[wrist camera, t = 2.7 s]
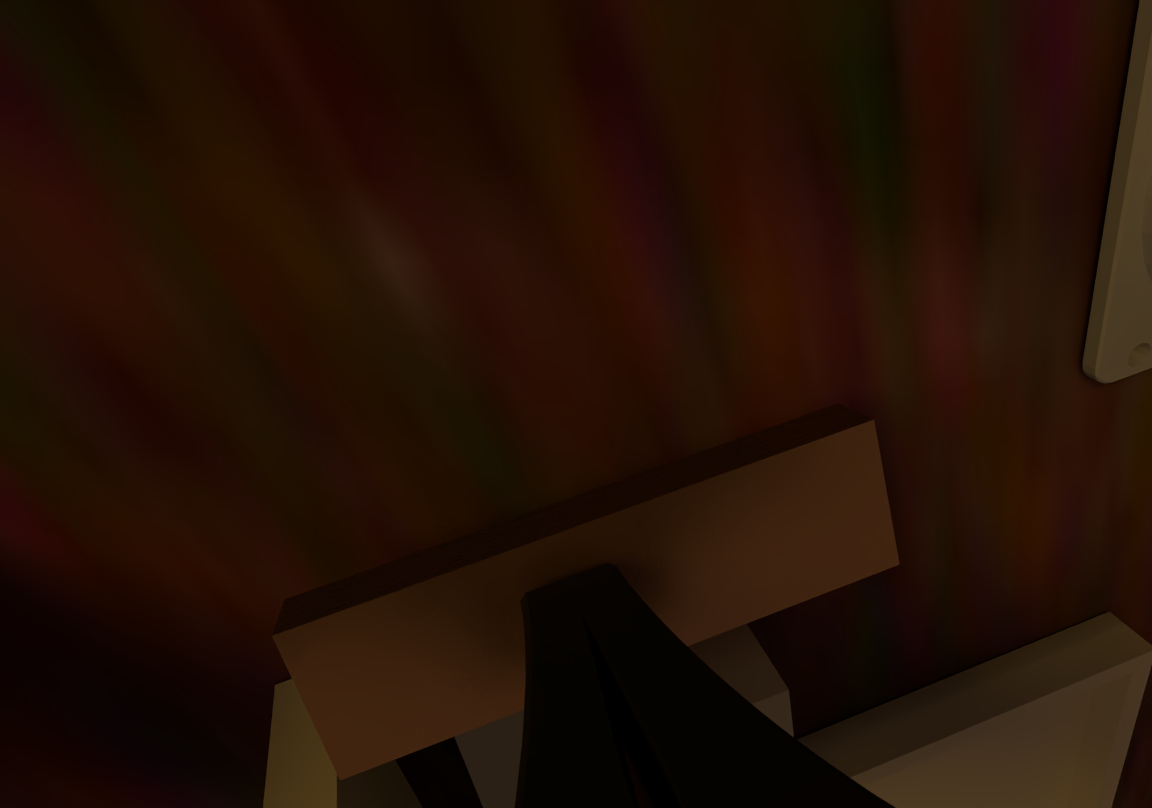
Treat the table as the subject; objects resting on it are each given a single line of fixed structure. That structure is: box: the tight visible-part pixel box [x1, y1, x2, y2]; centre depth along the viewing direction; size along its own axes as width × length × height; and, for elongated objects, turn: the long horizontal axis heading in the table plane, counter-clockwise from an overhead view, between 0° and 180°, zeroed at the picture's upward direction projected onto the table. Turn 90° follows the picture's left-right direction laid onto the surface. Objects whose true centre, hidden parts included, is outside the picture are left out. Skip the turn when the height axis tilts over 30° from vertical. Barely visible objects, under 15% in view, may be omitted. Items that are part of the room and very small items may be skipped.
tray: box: [797, 612, 1152, 808], centre depth 22 cm, size 10×10×1 cm
